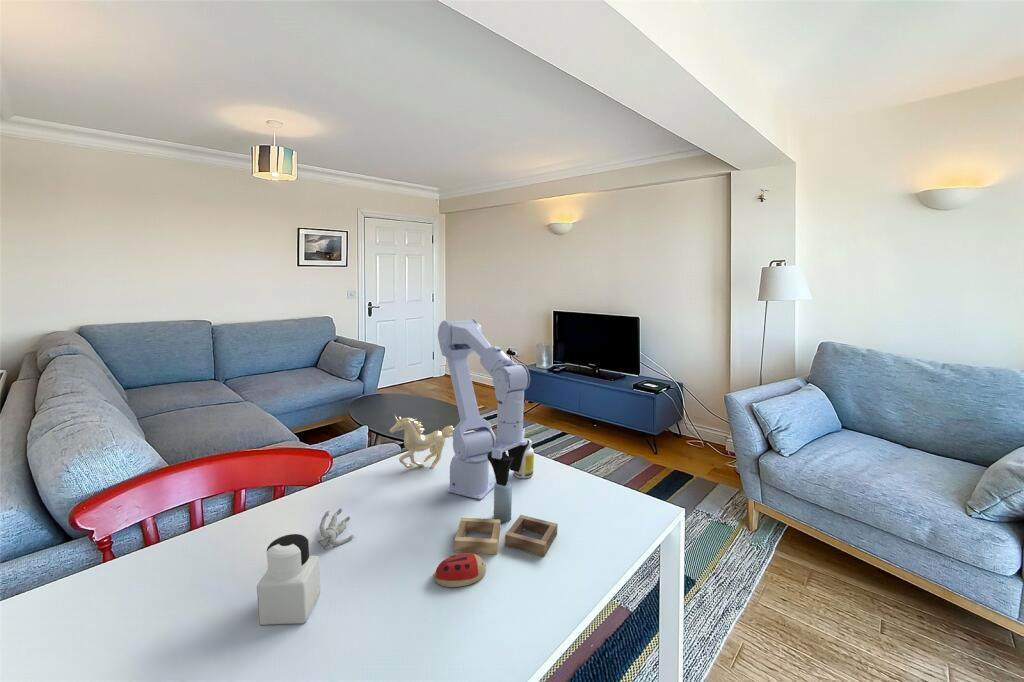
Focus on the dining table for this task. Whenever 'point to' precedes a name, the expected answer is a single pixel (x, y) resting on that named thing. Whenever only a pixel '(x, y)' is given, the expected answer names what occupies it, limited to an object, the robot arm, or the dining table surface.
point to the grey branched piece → (332, 531)
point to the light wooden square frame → (477, 544)
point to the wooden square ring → (527, 543)
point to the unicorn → (421, 440)
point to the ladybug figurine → (460, 570)
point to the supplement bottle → (526, 463)
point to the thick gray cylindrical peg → (502, 502)
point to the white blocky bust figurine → (288, 582)
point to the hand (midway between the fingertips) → (508, 477)
